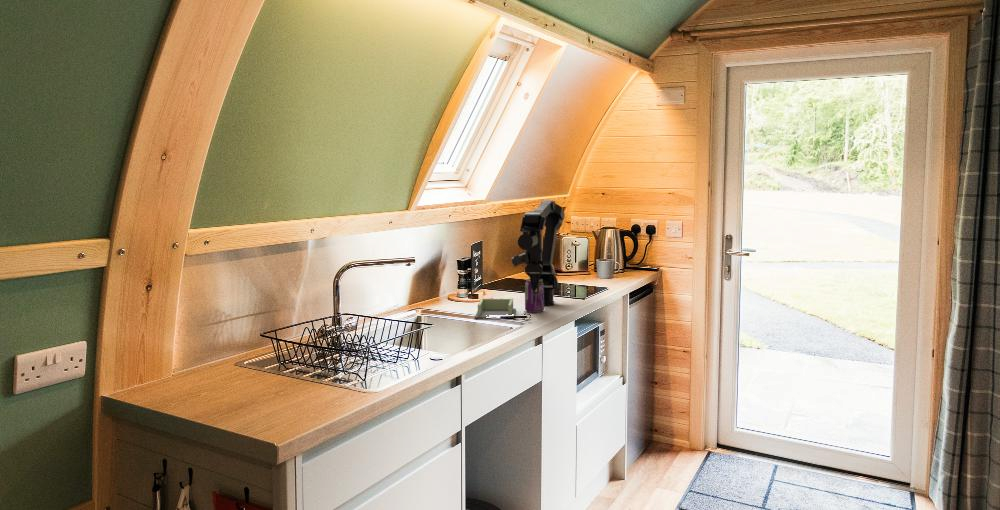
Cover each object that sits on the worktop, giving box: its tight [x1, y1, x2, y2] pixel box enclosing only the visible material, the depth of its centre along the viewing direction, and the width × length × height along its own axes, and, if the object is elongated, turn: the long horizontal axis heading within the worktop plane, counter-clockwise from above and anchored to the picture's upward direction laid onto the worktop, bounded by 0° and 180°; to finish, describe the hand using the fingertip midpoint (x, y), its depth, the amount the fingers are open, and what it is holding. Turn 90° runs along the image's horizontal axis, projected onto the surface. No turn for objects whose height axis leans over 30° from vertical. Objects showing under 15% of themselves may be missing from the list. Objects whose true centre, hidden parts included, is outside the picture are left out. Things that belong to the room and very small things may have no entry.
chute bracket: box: [474, 298, 517, 320], centre depth 286 cm, size 15×14×5 cm
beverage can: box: [524, 278, 545, 314], centre depth 290 cm, size 7×7×12 cm
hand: (534, 288), depth 290 cm, fingers open, 9 cm apart
